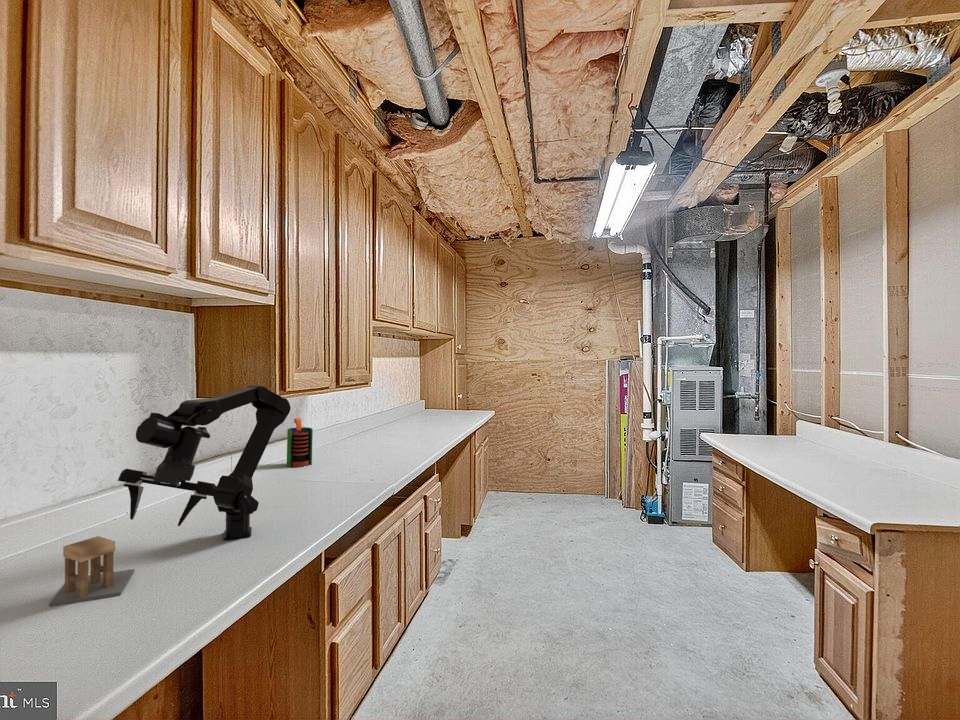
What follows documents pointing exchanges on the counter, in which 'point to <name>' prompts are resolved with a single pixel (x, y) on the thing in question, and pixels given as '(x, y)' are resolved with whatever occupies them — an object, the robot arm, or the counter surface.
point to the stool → (82, 554)
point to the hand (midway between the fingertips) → (155, 522)
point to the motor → (299, 445)
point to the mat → (95, 589)
